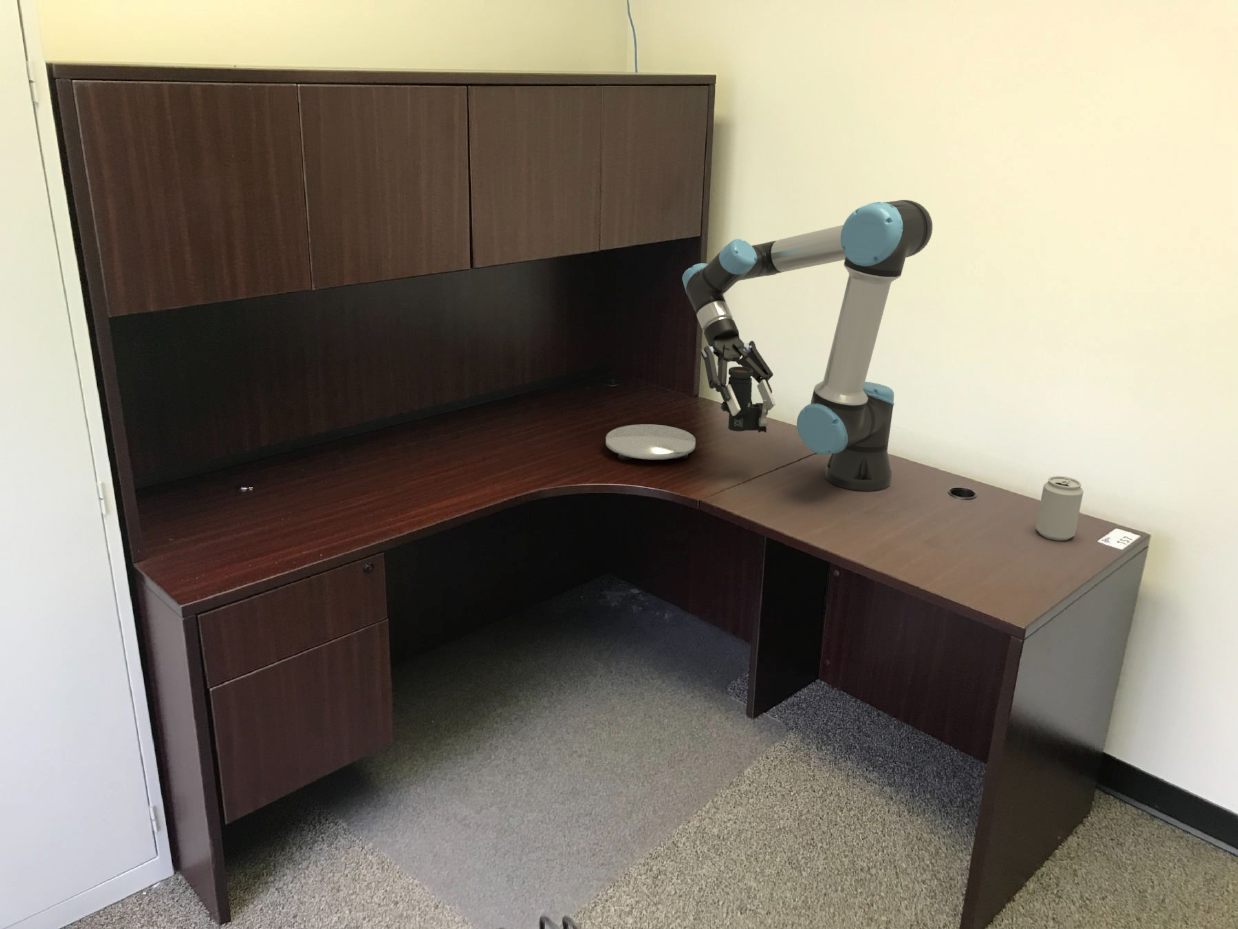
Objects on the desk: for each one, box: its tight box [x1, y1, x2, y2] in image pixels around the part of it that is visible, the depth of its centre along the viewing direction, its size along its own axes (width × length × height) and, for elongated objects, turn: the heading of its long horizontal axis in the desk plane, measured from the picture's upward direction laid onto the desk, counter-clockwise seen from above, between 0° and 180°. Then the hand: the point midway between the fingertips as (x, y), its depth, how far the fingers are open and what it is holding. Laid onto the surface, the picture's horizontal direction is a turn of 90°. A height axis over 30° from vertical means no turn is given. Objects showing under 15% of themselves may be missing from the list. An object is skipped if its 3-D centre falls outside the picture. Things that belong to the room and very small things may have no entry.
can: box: [1035, 475, 1084, 541], centre depth 207 cm, size 8×8×12 cm
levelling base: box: [605, 423, 696, 461], centre depth 249 cm, size 22×22×4 cm
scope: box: [720, 366, 769, 433], centre depth 228 cm, size 8×14×10 cm
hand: (754, 410), depth 226 cm, fingers closed on scope, 9 cm apart
